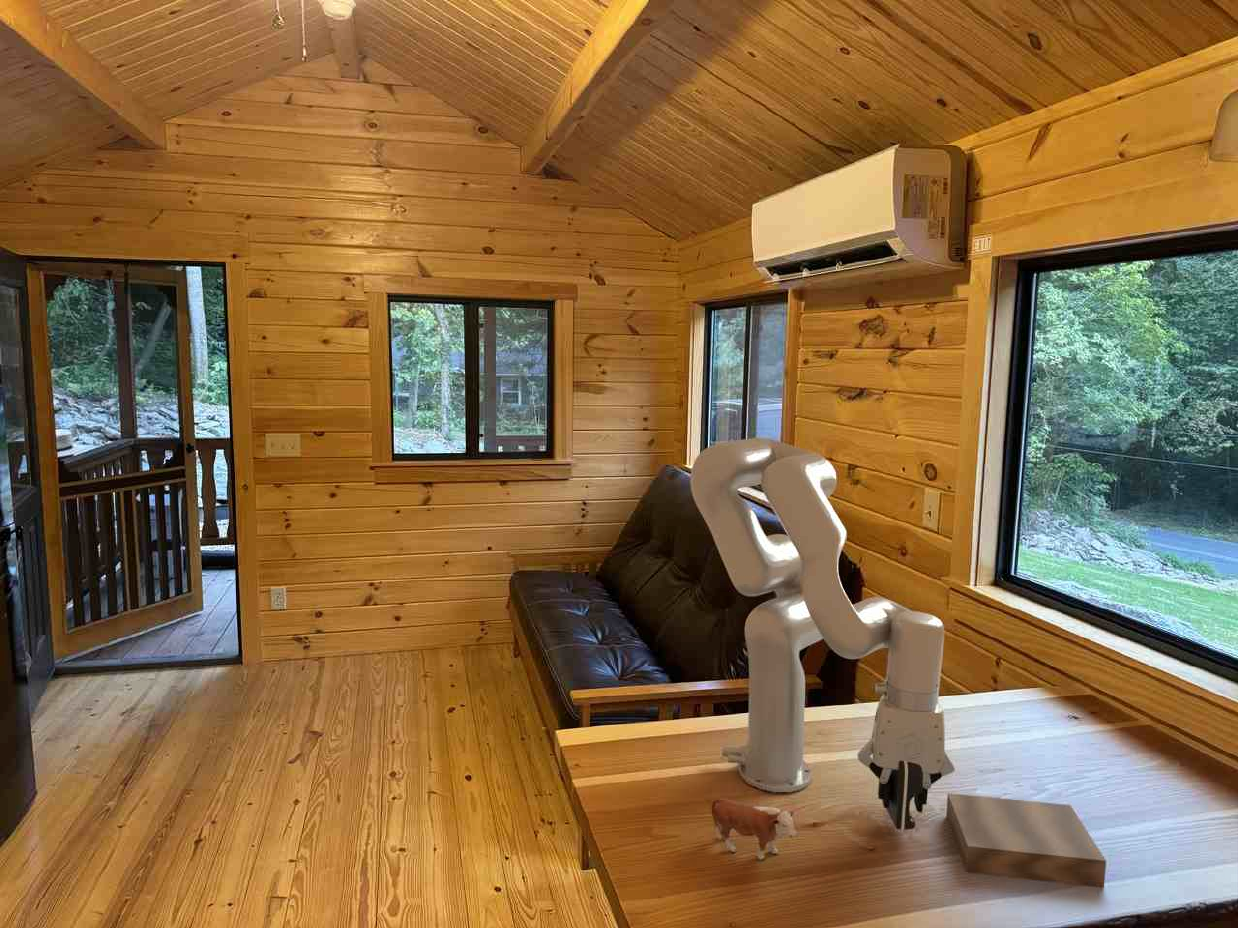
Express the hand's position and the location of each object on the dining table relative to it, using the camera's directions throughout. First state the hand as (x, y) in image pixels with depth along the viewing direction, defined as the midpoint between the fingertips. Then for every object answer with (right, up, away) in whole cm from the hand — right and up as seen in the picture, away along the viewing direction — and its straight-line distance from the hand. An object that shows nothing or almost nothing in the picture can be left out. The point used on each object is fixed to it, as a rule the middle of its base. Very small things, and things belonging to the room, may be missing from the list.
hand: (901, 803), depth 125 cm
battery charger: (0, -3, 0) cm, 3 cm away
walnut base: (+16, -5, -4) cm, 18 cm away
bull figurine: (-24, -5, -4) cm, 25 cm away
